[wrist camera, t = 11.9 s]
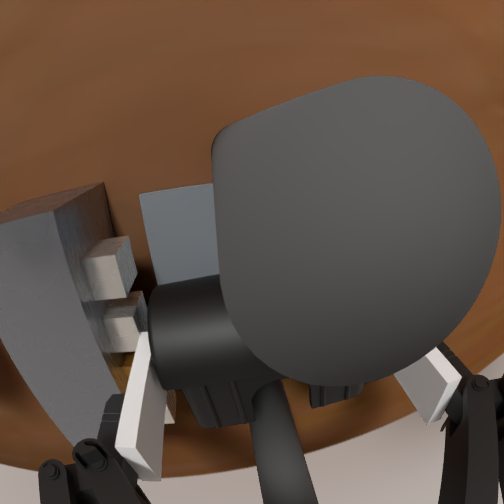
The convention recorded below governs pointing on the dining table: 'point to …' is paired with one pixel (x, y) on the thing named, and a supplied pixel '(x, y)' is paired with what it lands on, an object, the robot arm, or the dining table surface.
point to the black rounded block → (212, 355)
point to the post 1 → (279, 449)
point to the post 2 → (353, 227)
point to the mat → (181, 232)
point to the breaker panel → (70, 306)
